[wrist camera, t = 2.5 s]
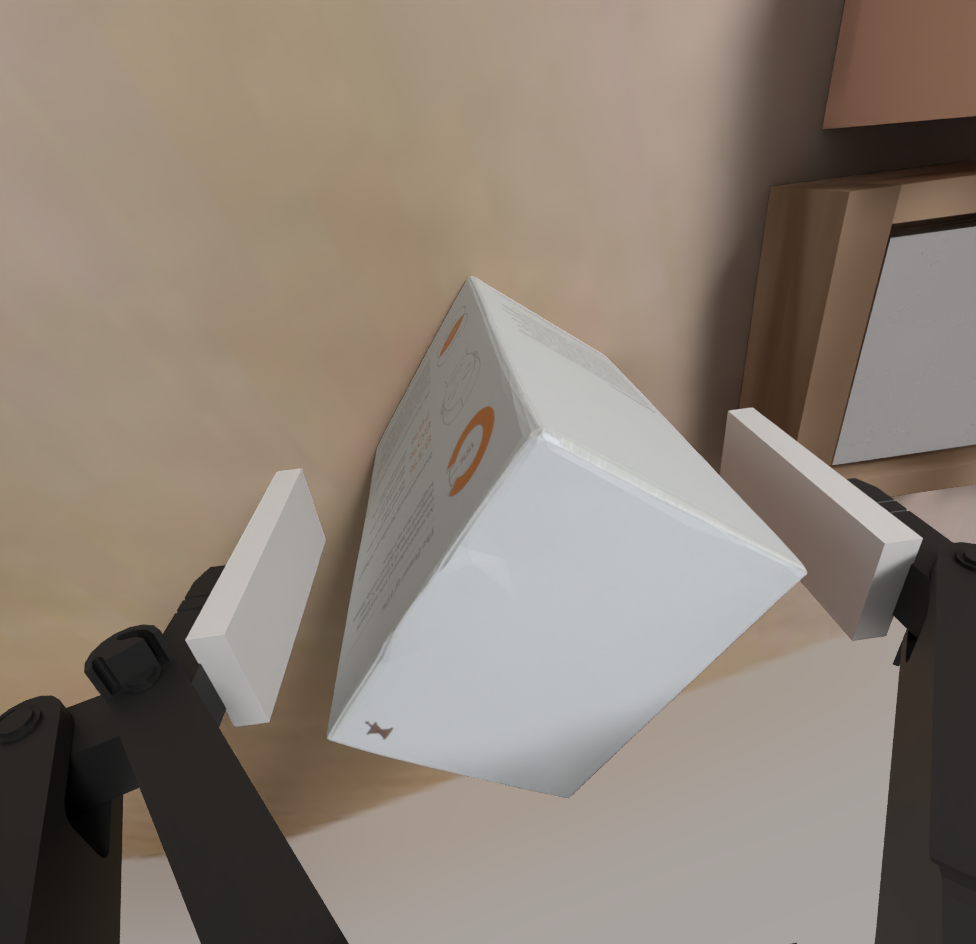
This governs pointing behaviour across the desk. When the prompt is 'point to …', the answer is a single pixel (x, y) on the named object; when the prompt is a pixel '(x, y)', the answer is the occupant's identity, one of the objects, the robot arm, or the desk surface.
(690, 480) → the small box
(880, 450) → the plate
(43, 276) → the desk surface
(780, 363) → the brown wooden square tray
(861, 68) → the pink open box
